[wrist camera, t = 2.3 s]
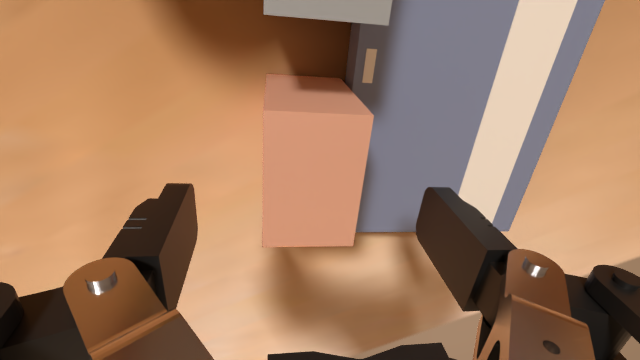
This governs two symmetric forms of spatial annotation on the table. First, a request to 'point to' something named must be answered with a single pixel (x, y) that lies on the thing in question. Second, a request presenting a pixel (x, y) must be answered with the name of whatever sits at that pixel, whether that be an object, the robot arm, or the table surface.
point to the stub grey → (333, 10)
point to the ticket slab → (461, 100)
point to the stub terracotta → (312, 161)
